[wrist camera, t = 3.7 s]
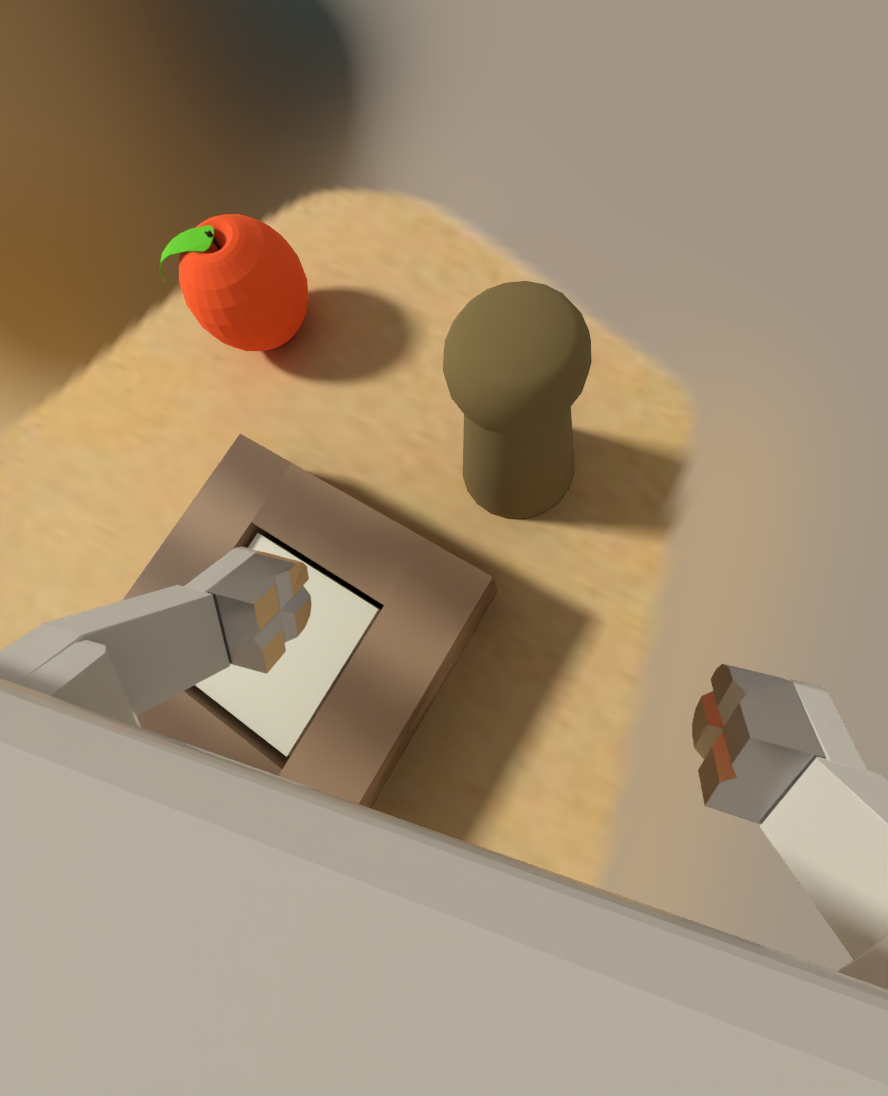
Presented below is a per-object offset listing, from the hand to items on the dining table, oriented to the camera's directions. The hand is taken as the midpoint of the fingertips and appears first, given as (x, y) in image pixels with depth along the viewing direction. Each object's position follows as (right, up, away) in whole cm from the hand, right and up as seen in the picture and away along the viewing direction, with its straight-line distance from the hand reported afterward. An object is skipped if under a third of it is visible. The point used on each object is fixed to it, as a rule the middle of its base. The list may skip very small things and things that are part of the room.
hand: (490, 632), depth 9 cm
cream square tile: (-9, -3, +13) cm, 16 cm away
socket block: (-8, -3, +16) cm, 18 cm away
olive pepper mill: (+3, +6, +17) cm, 18 cm away
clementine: (-12, +16, +22) cm, 30 cm away
